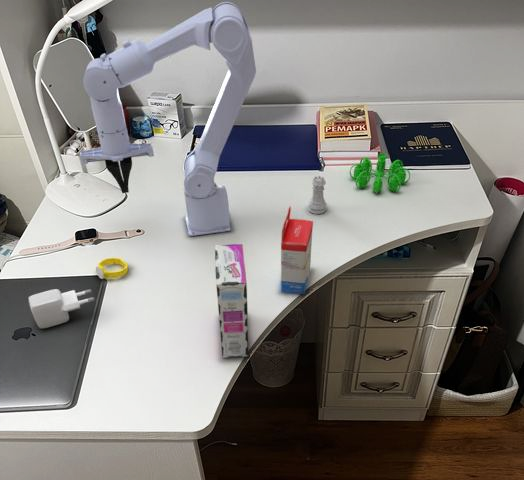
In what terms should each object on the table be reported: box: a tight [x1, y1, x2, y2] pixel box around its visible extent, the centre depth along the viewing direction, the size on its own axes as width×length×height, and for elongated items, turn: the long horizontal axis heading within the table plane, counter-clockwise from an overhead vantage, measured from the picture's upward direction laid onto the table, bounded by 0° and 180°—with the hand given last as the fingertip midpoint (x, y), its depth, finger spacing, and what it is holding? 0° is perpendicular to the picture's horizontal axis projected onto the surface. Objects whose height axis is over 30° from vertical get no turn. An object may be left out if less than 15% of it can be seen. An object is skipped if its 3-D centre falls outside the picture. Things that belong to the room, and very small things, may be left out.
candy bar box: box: [214, 243, 250, 359], centre depth 92 cm, size 11×5×16 cm, turn 5°
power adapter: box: [28, 288, 95, 329], centre depth 100 cm, size 11×5×6 cm, turn 115°
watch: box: [95, 257, 129, 280], centre depth 111 cm, size 6×3×6 cm
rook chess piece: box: [307, 175, 327, 215], centre depth 125 cm, size 4×4×8 cm
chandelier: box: [349, 153, 411, 194], centre depth 134 cm, size 15×15×7 cm
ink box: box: [280, 205, 314, 295], centre depth 103 cm, size 8×5×15 cm, turn 168°
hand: (125, 190), depth 116 cm, fingers closed
